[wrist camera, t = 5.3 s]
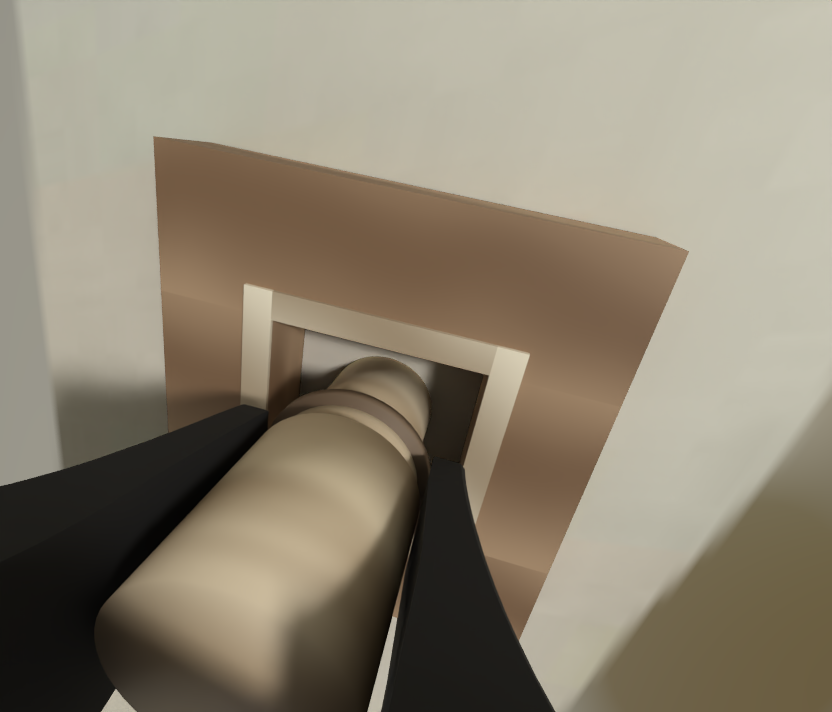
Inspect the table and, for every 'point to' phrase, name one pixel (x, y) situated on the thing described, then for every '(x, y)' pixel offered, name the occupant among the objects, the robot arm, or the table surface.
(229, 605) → the peg
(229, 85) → the table surface
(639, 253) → the board
